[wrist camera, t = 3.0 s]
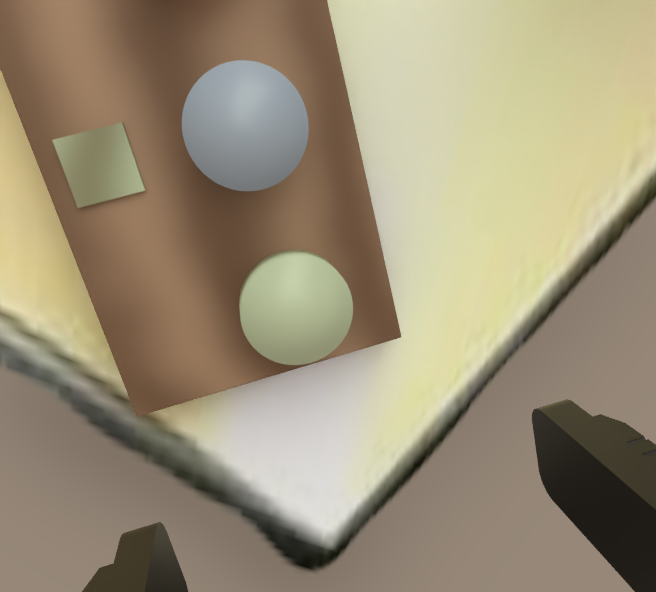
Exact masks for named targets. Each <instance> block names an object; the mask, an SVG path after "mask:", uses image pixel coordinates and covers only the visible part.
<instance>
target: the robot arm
mask: <svg viewBox="0 0 656 592" xmlns="http://www.w3.org/2000/svg"><path fill="white" fill-rule="evenodd" d="M532 423H533V430H534V437H535V444H536V452H537V459H538V467H539V472H540V476H541V480H542V482H543V485H544V486H545V489H546V491H547V493H548V494H549V496H550V497H551V499H552V500H553V501H554V502H555V503H556V505H558V507H559V508H560V509H561V510H562V511H563V512H564V513H565V514H566V516H567V517H568V518H569V519H570V520H571V521H572V522H573V523H574V525H575V526H576V527H577V528H578V529H579V530H580V531H581V532H582V533H583V534H584V536H585V537H587V539H588V540H589V541H590V542H591V543H592V544H593V546H594V547H595V548H596V549H597V550H598V551H599V552H600V553H601V554H602V556H603V557H604V558H605V559H606V560H607V561H608V562H609V563H610V564H611V565H612V567H613V568H614V569H615V570H616V571H617V572H618V573H619V574H620V575H621V577H622V578H623V579H624V580H625V581H626V582H627V583H628V584H629V585H630V587H631V588H632V589H633V590H634V591H635V592H656V445H655V444H654V443H652V442H651V441H650V440H645V438H644V436H643V435H641V434H640V433H638V432H637V431H636V430H634V429H633V428H631V427H630V426H629V425H627V424H626V423H623V422H621V421H618V420H615V419H612V418H609V417H606V416H603V415H601V414H600V415H597V416H594V417H592V416H591V415H590V414H588V413H587V412H586V411H584V410H583V409H581V408H580V407H579V406H578V405H576V404H575V403H574V402H572V401H571V400H563V401H560V402H557V403H553V404H550V405H547V406H543V407H540V408H537V409H534V410H533V413H532ZM82 592H188V589H187V585H186V582H185V579H184V576H183V573H182V571H181V568H180V566H179V563H178V560H177V558H176V555H175V552H174V550H173V547H172V545H171V542H170V539H169V537H168V534H167V531H166V529H165V527H164V525H163V524H162V523H160V522H159V523H155V524H152V525H149V526H145V527H142V528H139V529H136V530H132V531H129V532H126V533H123V534H122V535H121V538H120V541H119V545H118V549H117V553H116V557H115V560H114V564H111V565H108V566H104V567H102V568H99V569H98V571H97V572H96V574H95V575H94V576H93V578H92V579H91V581H90V582H89V583H88V585H87V586H86V587H85V589H84V590H83V591H82Z"/></svg>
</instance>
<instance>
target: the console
mask: <svg viewBox="0 0 656 592" xmlns="http://www.w3.org/2000/svg"><path fill="white" fill-rule="evenodd" d="M237 60H247V61H255V62H259V63H263V64H265V65H268V66H270V67H272V68H274V69H275V70H277V71H279V72H280V73H281V74H283V75H284V76H285V77H286V78H287V79H288V80H289V81H290V82H291V83H292V84H293V85H294V87H295V88H296V89H297V91H298V93H299V94H300V96H301V98H302V100H303V102H304V105H305V108H306V111H307V116H308V124H309V133H308V141H307V146H306V149H305V152H304V154H303V156H302V158H301V160H300V162H299V164H298V165H297V167H296V168H295V169H294V170H293V171H292V173H291V174H290V175H288V176H287V177H286V178H285V179H284V180H282V181H281V182H279V183H278V184H276V185H274V186H272V187H269V188H266V189H263V190H258V191H238V190H233V189H229V188H226V187H224V186H222V185H219V184H217V183H216V182H214V181H213V180H211V179H210V178H208V177H207V176H206V175H205V174H204V173H203V172H202V171H201V170H200V169H199V168H198V167H197V166H196V164H195V163H194V161H193V160H192V158H191V157H190V155H189V153H188V151H187V148H186V145H185V142H184V138H183V133H182V114H183V108H184V105H185V101H186V99H187V96H188V94H189V92H190V90H191V89H192V87H193V86H194V84H195V83H196V82H197V81H198V80H199V78H201V77H202V76H203V75H204V74H205V73H206V72H208V71H209V70H211V69H212V68H214V67H216V66H218V65H220V64H223V63H226V62H231V61H237ZM0 68H1V71H2V73H3V76H4V79H5V81H6V84H7V86H8V89H9V91H10V94H11V96H12V99H13V101H14V104H15V107H16V109H17V112H18V114H19V117H20V119H21V122H22V124H23V127H24V130H25V132H26V135H27V137H28V140H29V142H30V145H31V147H32V150H33V153H34V155H35V158H36V160H37V163H38V165H39V168H40V170H41V173H42V176H43V178H44V181H45V183H46V186H47V188H48V191H49V193H50V196H51V199H52V201H53V204H54V206H55V209H56V211H57V214H58V216H59V219H60V222H61V224H62V227H63V229H64V232H65V234H66V237H67V239H68V242H69V244H70V247H71V250H72V252H73V255H74V257H75V260H76V262H77V265H78V267H79V270H80V273H81V275H82V278H83V280H84V283H85V285H86V288H87V290H88V293H89V296H90V298H91V301H92V303H93V306H94V308H95V311H96V313H97V316H98V319H99V321H100V324H101V326H102V329H103V331H104V334H105V336H106V339H107V342H108V344H109V347H110V349H111V352H112V354H113V357H114V359H115V362H116V364H117V367H118V370H119V372H120V375H121V377H122V380H123V382H124V385H125V387H126V390H127V393H128V395H129V398H130V400H131V403H132V405H133V408H134V410H135V413H136V416H140V415H144V414H147V413H150V412H154V411H157V410H160V409H164V408H167V407H170V406H174V405H177V404H180V403H183V402H187V401H190V400H193V399H197V398H200V397H203V396H207V395H210V394H213V393H217V392H220V391H223V390H227V389H230V388H233V387H237V386H240V385H243V384H247V383H250V382H253V381H257V380H260V379H263V378H267V377H270V376H273V375H277V374H280V373H283V372H287V371H290V370H293V369H297V368H300V367H303V366H307V365H310V364H313V363H317V362H320V361H323V360H327V359H330V358H333V357H337V356H340V355H343V354H347V353H350V352H353V351H357V350H360V349H363V348H367V347H370V346H373V345H377V344H380V343H383V342H387V341H390V340H393V339H397V338H400V337H401V334H400V329H399V325H398V320H397V316H396V311H395V307H394V302H393V297H392V293H391V288H390V284H389V279H388V275H387V270H386V266H385V261H384V257H383V252H382V248H381V243H380V239H379V234H378V230H377V225H376V221H375V216H374V212H373V207H372V203H371V198H370V193H369V189H368V184H367V180H366V175H365V171H364V166H363V162H362V157H361V153H360V148H359V144H358V139H357V135H356V130H355V126H354V121H353V117H352V112H351V108H350V103H349V99H348V94H347V89H346V85H345V80H344V76H343V71H342V67H341V62H340V58H339V53H338V49H337V44H336V40H335V35H334V31H333V26H332V22H331V17H330V13H329V8H328V4H327V0H0ZM290 249H300V250H306V251H310V252H313V253H315V254H317V255H320V256H321V257H323V258H324V259H326V260H327V261H328V262H329V263H331V264H332V265H333V267H334V268H335V269H336V270H337V271H338V272H339V274H340V275H341V276H342V277H343V279H344V280H345V282H346V283H347V285H348V287H349V289H350V293H351V296H352V301H353V317H352V321H351V325H350V328H349V330H348V332H347V334H346V336H345V338H344V339H343V341H342V342H341V343H340V344H339V346H338V347H337V348H336V349H335V350H333V351H332V352H331V353H330V354H328V355H327V356H325V357H324V358H322V359H320V360H317V361H315V362H312V363H308V364H303V365H286V364H281V363H277V362H274V361H272V360H269V359H268V358H266V357H264V356H263V355H261V354H260V353H259V352H257V351H256V350H255V349H254V348H253V346H252V345H251V344H250V343H249V341H248V339H247V338H246V336H245V334H244V331H243V329H242V325H241V320H240V309H239V296H240V291H241V288H242V284H243V282H244V280H245V278H246V276H247V275H248V273H249V272H250V270H251V269H252V268H253V267H254V266H255V265H256V264H257V263H258V262H259V261H261V260H262V259H264V258H265V257H267V256H269V255H271V254H273V253H276V252H279V251H283V250H290Z"/></svg>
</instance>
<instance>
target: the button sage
mask: <svg viewBox="0 0 656 592" xmlns="http://www.w3.org/2000/svg"><path fill="white" fill-rule="evenodd" d="M239 309H240V320H241V325H242V329H243V331H244V334H245V336H246V338H247V339H248V341H249V343H250V344H251V345H252V346H253V348H254V349H255V350H256V351H257V352H259V353H260V354H261V355H263V356H264V357H266V358H268V359H269V360H272V361H274V362H277V363H281V364H286V365H303V364H308V363H312V362H315V361H317V360H320V359H322V358H324V357H325V356H327V355H328V354H330V353H331V352H332V351H333V350H335V349H336V348H337V347H338V346H339V344H340V343H341V342H342V341H343V339H344V338H345V336H346V334H347V332H348V330H349V328H350V325H351V321H352V317H353V301H352V296H351V293H350V289H349V287H348V285H347V283H346V282H345V280H344V279H343V277H342V276H341V275H340V274H339V272H338V271H337V270H336V269H335V268H334V267H333V265H332V264H331V263H329V262H328V261H327V260H326V259H324V258H323V257H321V256H320V255H317V254H315V253H313V252H310V251H306V250H300V249H290V250H283V251H279V252H276V253H273V254H271V255H269V256H267V257H265V258H264V259H262V260H261V261H259V262H258V263H257V264H256V265H255V266H254V267H253V268H252V269H251V270H250V272H249V273H248V275H247V276H246V278H245V280H244V282H243V284H242V288H241V291H240V296H239Z"/></svg>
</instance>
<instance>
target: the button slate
mask: <svg viewBox="0 0 656 592" xmlns="http://www.w3.org/2000/svg"><path fill="white" fill-rule="evenodd" d="M182 133H183V138H184V142H185V145H186V148H187V151H188V153H189V155H190V157H191V158H192V160H193V161H194V163H195V164H196V166H197V167H198V168H199V169H200V170H201V171H202V172H203V173H204V174H205V175H206V176H207V177H208V178H210V179H211V180H213V181H214V182H216V183H217V184H219V185H222V186H224V187H226V188H229V189H233V190H238V191H258V190H263V189H266V188H269V187H272V186H274V185H276V184H278V183H279V182H281V181H282V180H284V179H285V178H286V177H287V176H288V175H290V174H291V173H292V171H293V170H294V169H295V168H296V167H297V165H298V164H299V162H300V160H301V158H302V156H303V154H304V152H305V149H306V146H307V141H308V133H309V124H308V116H307V111H306V108H305V105H304V102H303V100H302V98H301V96H300V94H299V93H298V91H297V89H296V88H295V87H294V85H293V84H292V83H291V82H290V81H289V80H288V79H287V78H286V77H285V76H284V75H283V74H281V73H280V72H279V71H277V70H275V69H274V68H272V67H270V66H268V65H265V64H263V63H259V62H255V61H247V60H237V61H231V62H226V63H223V64H220V65H218V66H216V67H214V68H212V69H211V70H209V71H208V72H206V73H205V74H204V75H203V76H202V77H201V78H199V80H198V81H197V82H196V83H195V84H194V86H193V87H192V89H191V90H190V92H189V94H188V96H187V99H186V101H185V105H184V108H183V114H182Z"/></svg>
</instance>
